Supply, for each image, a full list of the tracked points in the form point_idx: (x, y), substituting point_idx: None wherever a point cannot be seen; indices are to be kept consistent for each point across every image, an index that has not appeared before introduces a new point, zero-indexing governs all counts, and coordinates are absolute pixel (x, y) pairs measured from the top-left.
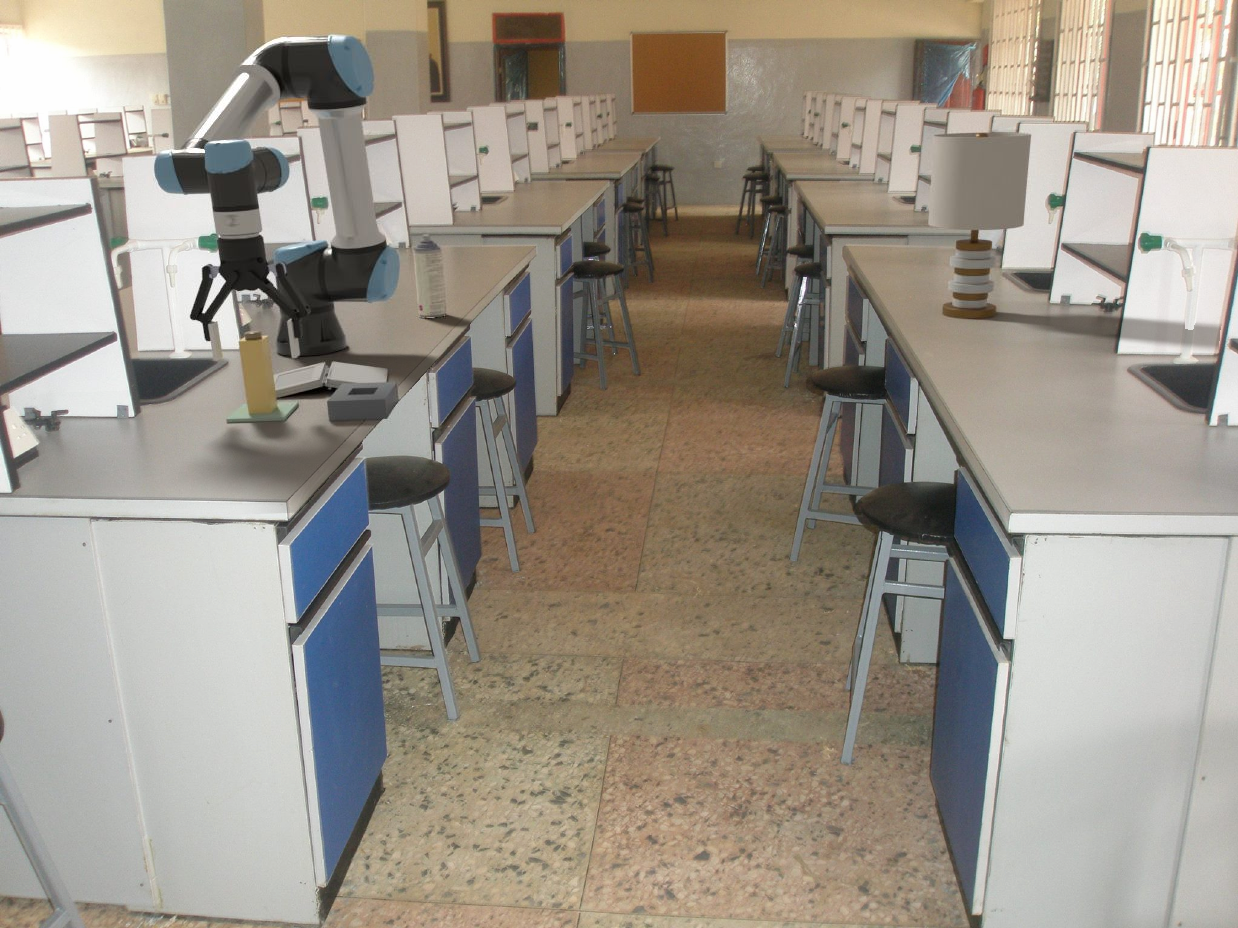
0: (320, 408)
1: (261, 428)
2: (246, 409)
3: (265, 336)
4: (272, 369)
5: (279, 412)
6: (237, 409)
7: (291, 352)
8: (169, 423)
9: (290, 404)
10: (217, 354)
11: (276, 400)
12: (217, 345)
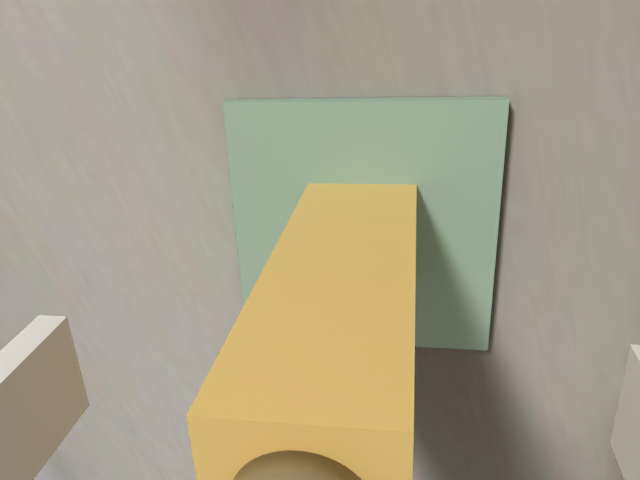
0: (634, 171)
1: (415, 419)
2: (277, 210)
3: (396, 465)
4: (415, 272)
5: (450, 278)
6: (236, 207)
7: (627, 477)
8: (34, 307)
9: (475, 150)
10: (66, 427)
11: (416, 198)
12: (23, 447)
